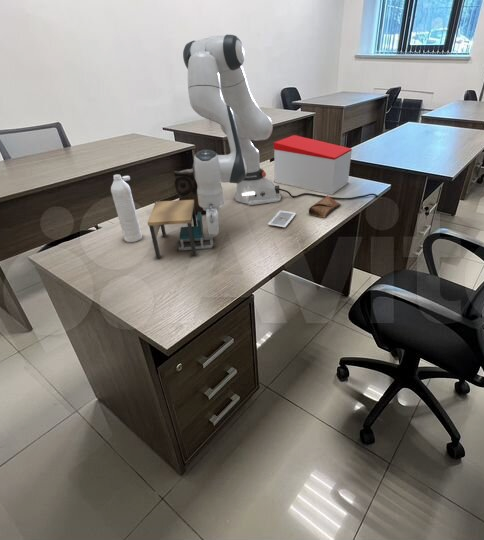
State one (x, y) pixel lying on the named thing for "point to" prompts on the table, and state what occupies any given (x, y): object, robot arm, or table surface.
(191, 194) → the owl
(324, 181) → the red-lidded white box
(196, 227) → the chair
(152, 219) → the desk
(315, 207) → the sunglasses case
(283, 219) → the deck of cards
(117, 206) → the water bottle
